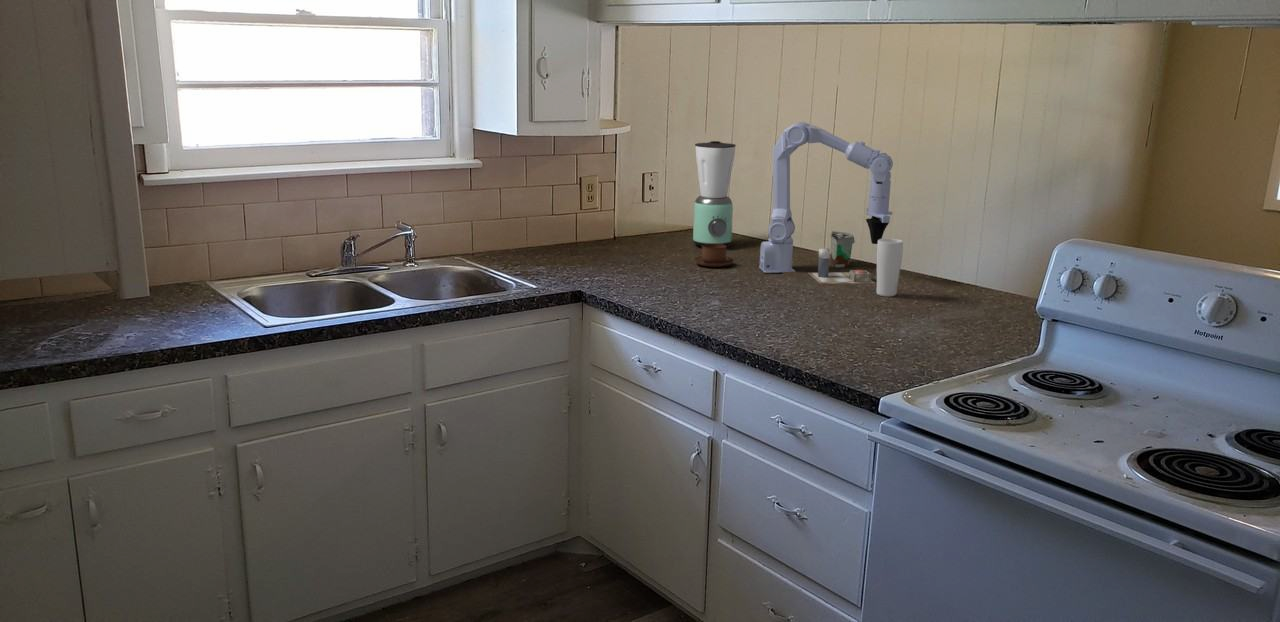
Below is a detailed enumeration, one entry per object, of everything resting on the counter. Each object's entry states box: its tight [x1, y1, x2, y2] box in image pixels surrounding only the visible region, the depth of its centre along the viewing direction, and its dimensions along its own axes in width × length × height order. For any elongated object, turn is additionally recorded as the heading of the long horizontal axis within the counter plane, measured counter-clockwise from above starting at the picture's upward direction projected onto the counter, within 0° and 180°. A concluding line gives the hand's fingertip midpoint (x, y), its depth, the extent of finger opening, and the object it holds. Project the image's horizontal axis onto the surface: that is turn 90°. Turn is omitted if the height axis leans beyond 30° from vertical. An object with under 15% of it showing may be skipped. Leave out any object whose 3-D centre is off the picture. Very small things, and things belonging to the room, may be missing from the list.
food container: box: [829, 230, 856, 269], centre depth 302 cm, size 12×6×10 cm, turn 179°
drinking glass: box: [875, 238, 904, 298], centre depth 265 cm, size 7×7×15 cm
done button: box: [854, 269, 867, 273], centre depth 281 cm, size 3×3×2 cm
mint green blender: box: [692, 140, 737, 249], centre depth 329 cm, size 19×13×35 cm
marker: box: [817, 247, 831, 277], centre depth 284 cm, size 3×3×8 cm
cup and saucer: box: [693, 244, 734, 268], centre depth 302 cm, size 12×12×6 cm
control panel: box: [807, 269, 876, 285], centre depth 285 cm, size 16×14×3 cm
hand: (875, 243), depth 284 cm, fingers closed
